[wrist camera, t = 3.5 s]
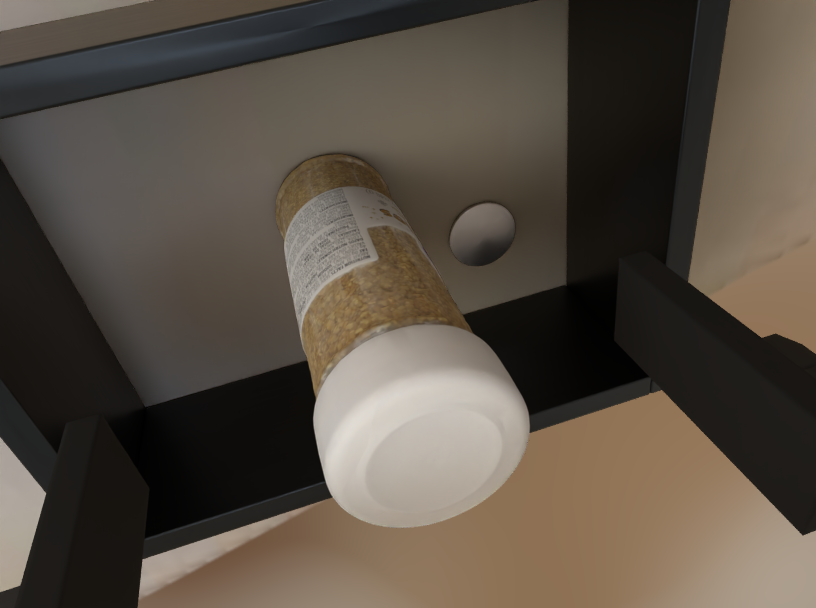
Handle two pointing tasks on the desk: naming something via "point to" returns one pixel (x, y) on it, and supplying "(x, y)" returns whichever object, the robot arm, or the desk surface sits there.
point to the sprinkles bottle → (391, 356)
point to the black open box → (469, 238)
